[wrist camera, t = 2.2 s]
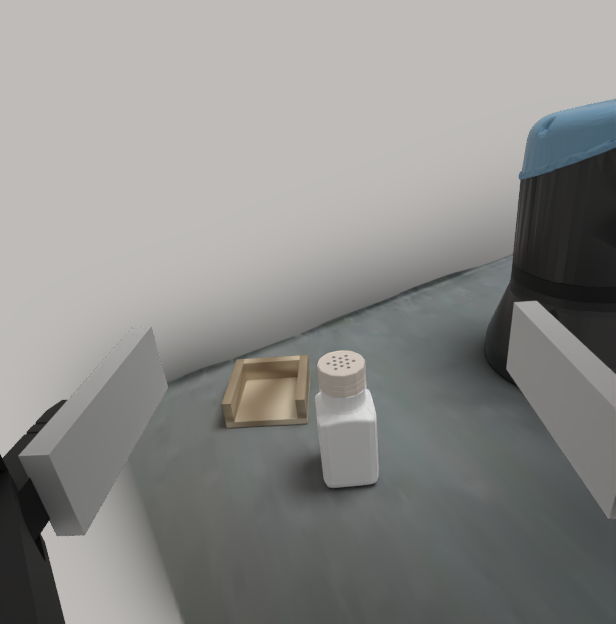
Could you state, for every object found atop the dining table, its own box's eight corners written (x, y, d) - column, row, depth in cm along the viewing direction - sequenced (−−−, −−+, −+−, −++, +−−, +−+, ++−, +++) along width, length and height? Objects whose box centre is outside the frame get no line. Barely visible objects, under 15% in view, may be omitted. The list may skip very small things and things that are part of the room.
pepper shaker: (324, 492, 31) (312, 382, 27) (321, 452, 35) (309, 349, 31) (380, 487, 31) (376, 376, 27) (371, 447, 35) (366, 344, 31)
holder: (310, 376, 45) (307, 355, 44) (307, 423, 38) (304, 399, 37) (241, 381, 45) (236, 359, 44) (226, 427, 39) (221, 404, 38)
